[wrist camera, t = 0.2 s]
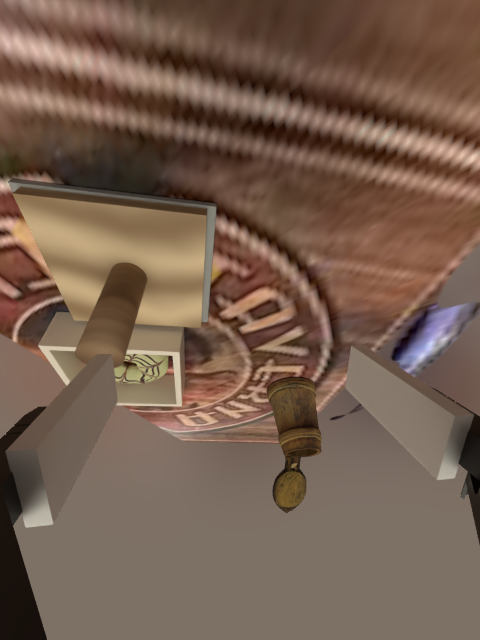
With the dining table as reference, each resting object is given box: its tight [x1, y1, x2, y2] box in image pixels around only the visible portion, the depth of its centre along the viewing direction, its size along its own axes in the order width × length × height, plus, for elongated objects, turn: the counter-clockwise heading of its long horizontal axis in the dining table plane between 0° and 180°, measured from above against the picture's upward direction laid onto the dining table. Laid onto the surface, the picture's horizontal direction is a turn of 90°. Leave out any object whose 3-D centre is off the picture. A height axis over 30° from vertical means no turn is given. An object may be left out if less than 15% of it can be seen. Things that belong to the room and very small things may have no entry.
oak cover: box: [12, 187, 207, 368], centre depth 24 cm, size 14×14×11 cm
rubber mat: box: [8, 179, 217, 322], centre depth 27 cm, size 15×16×1 cm
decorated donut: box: [86, 354, 169, 384], centre depth 38 cm, size 10×11×4 cm
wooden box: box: [38, 312, 185, 406], centre depth 37 cm, size 15×15×5 cm
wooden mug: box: [267, 377, 322, 513], centre depth 46 cm, size 9×14×18 cm, turn 164°
